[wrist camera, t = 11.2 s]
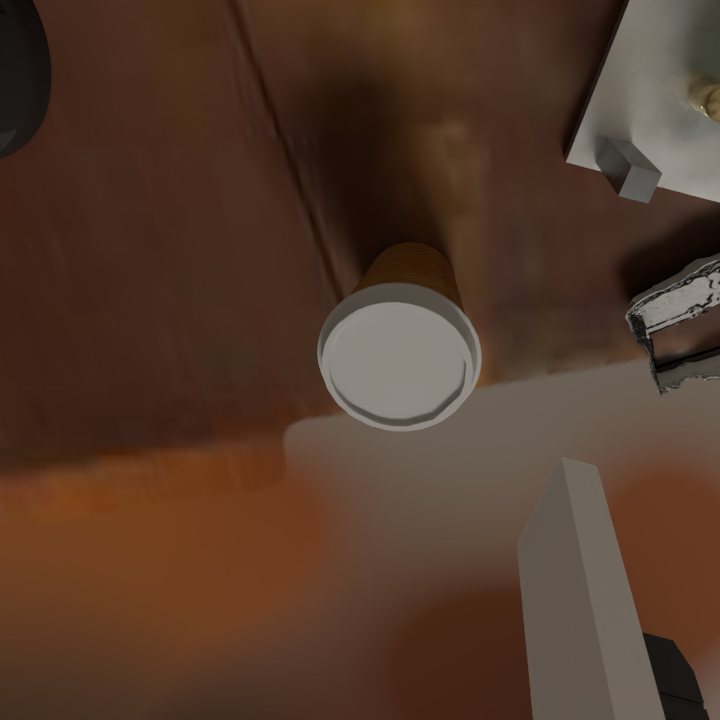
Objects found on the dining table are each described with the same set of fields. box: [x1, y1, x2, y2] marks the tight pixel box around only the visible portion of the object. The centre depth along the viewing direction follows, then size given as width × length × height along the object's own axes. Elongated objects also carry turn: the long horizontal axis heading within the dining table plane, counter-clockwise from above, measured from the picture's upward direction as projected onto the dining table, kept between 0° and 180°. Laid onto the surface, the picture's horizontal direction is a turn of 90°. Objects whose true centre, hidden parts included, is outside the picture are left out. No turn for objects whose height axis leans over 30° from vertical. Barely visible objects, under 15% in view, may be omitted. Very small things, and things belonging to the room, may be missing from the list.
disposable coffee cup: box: [317, 242, 481, 431], centre depth 41 cm, size 10×10×12 cm
